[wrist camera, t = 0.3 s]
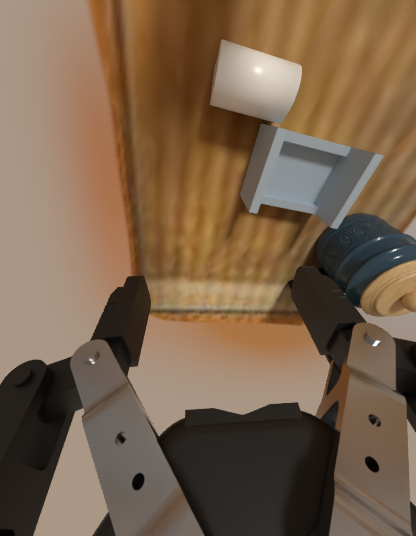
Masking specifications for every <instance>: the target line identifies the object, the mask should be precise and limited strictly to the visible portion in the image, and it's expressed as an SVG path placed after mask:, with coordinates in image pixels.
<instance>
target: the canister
mask: <svg viewBox="0 0 416 536" xmlns="http://www.w3.org/2000/svg"><path fill="white" fill-rule="evenodd" d="M315 255H316V258H317V261H318V263H319V265H320V266H321V267H322V269H323V270H324V271H326V272H327V273H328V275H329V276H330V277H331V278H332V280H333V281H335V283H336V284H337V285H338V286H339V288H340V289H341V291H343V293H345V294H346V298H348V299H349V300H350V302H351V303H352V304H353V306H355V307H358V308H362V309H363V311H364V312H365V313H367V314H369V315H372V316H378V317H383V316H399V315H403V314H407V313H410V312H416V240H415V239H414V238H413V237H411V236H410V235H407V234H404V233H402V232H400V231H399V230H397V229H395V228H394V227H392V226H390V225H389V224H388V223H387V222H386V221H384V220H383V219H381V218H379V217H377V216H374V215H370V214H366V213H357V214H352V215H349V216H346V217H345V218H344V219H343V221H342V222H341V224H340V225H339V227H338V229H335V228H330V227H328V228H327V229H326V230H325V231H324V232H323V234H322V235H321V236H320V238H319V240H318V242H317V244H316V248H315Z"/></svg>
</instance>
